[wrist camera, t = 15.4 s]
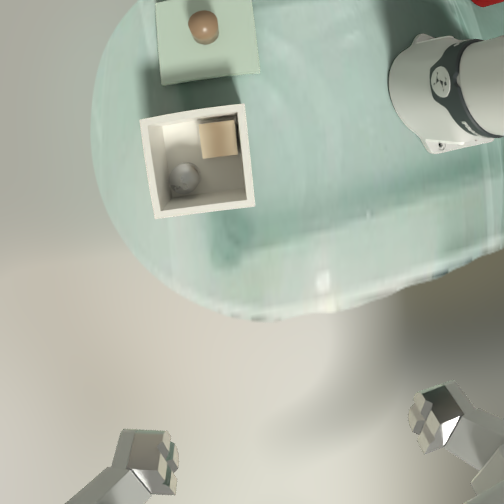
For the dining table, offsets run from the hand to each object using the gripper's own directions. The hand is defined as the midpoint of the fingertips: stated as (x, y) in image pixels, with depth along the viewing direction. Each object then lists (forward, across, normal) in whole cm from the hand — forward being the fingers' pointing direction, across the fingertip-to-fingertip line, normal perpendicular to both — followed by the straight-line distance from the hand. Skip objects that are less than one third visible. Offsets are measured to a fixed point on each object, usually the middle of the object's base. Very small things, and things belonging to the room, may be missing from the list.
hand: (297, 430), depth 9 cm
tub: (+35, +5, -6) cm, 36 cm away
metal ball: (+34, +7, -4) cm, 35 cm away
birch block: (+34, +3, -8) cm, 35 cm away
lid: (+35, +3, -22) cm, 42 cm away
